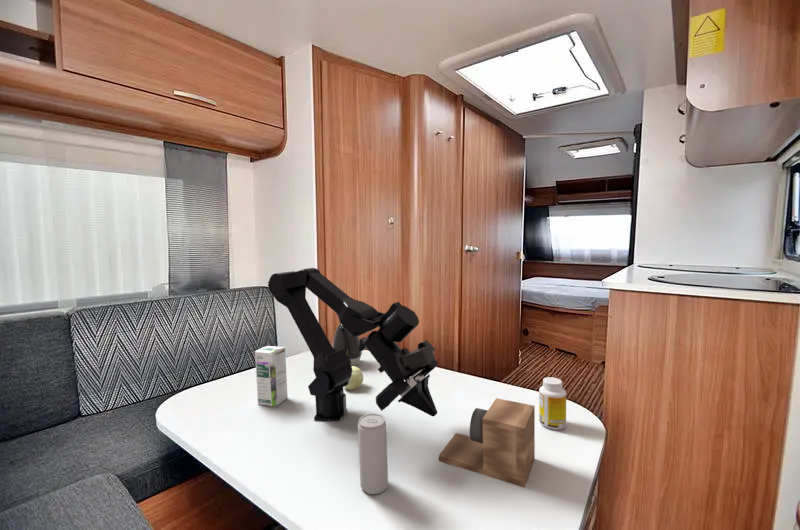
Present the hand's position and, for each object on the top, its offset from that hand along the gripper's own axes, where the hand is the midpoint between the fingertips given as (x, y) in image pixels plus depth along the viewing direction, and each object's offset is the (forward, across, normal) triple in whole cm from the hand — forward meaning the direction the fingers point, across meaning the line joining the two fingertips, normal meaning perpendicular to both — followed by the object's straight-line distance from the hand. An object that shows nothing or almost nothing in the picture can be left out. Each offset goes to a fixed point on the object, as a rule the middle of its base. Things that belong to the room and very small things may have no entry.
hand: (435, 414), depth 74 cm
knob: (+11, 0, -7) cm, 13 cm away
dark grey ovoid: (-28, +29, +38) cm, 55 cm away
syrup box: (-29, -1, +39) cm, 48 cm away
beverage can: (+2, -16, +8) cm, 18 cm away
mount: (+12, 0, -3) cm, 12 cm away
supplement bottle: (+19, +19, -10) cm, 29 cm away
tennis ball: (-19, +15, +29) cm, 37 cm away
